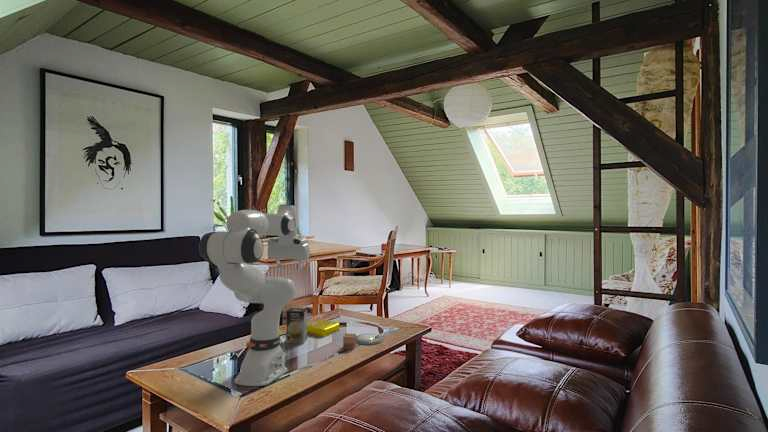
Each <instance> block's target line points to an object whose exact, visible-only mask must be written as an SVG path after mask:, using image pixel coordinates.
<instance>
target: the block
mask: <svg viewBox="0 0 768 432" xmlns="http://www.w3.org/2000/svg"><path fill="white" fill-rule="evenodd" d="M356 336H357V334H356V333H347V332H346V333H344V335H343V336H342V338H343V339H342V341H343V342H342V345H343V346H342V347H343V348H342V349H343V350H354V349H355V348H356V345H357V342H356Z"/></svg>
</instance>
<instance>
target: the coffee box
mask: <svg viewBox="0 0 768 432" xmlns="http://www.w3.org/2000/svg"><path fill="white" fill-rule="evenodd" d="M307 323H308V308H302V307H301V308H298V307H289V308H288V309H287V311H286V335H285V336H286V337H285V338H286V340H285V341H286V344H301V345H304V344H305V343H306V342H307V340H308V334H307Z"/></svg>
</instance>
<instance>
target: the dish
mask: <svg viewBox="0 0 768 432" xmlns="http://www.w3.org/2000/svg"><path fill="white" fill-rule="evenodd" d="M376 335H379V336H381V335H380V334H376ZM376 335H375V333H362V334H358V335H356V344H360V345H364V346H366V345H367V346H373V345H378V344H381V343H382V342H383V340H384V339H381V338H380V339H379V340H378V341H374V342H372V343H371V342H370V343H369V341H372V340H373V339H375V336H376ZM380 340H381V341H380ZM367 341H368V342H367Z"/></svg>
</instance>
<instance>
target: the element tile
mask: <svg viewBox="0 0 768 432" xmlns="http://www.w3.org/2000/svg"><path fill="white" fill-rule="evenodd" d="M338 331H340V322H337V321H333V320H326V319H322V318H321V319H320V318H319V319H316V320H313V321H311V322H307V335H310V336H316V337H320V338H325V337H327V336H330V335H331V334H335V333H336V332H338Z"/></svg>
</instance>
